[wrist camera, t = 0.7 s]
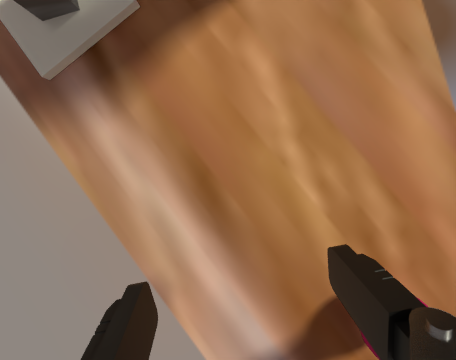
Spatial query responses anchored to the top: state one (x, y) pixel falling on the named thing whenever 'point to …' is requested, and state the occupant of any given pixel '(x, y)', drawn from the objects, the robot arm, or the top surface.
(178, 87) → the top surface
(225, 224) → the top surface
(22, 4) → the charcoal link
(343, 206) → the top surface
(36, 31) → the plate
